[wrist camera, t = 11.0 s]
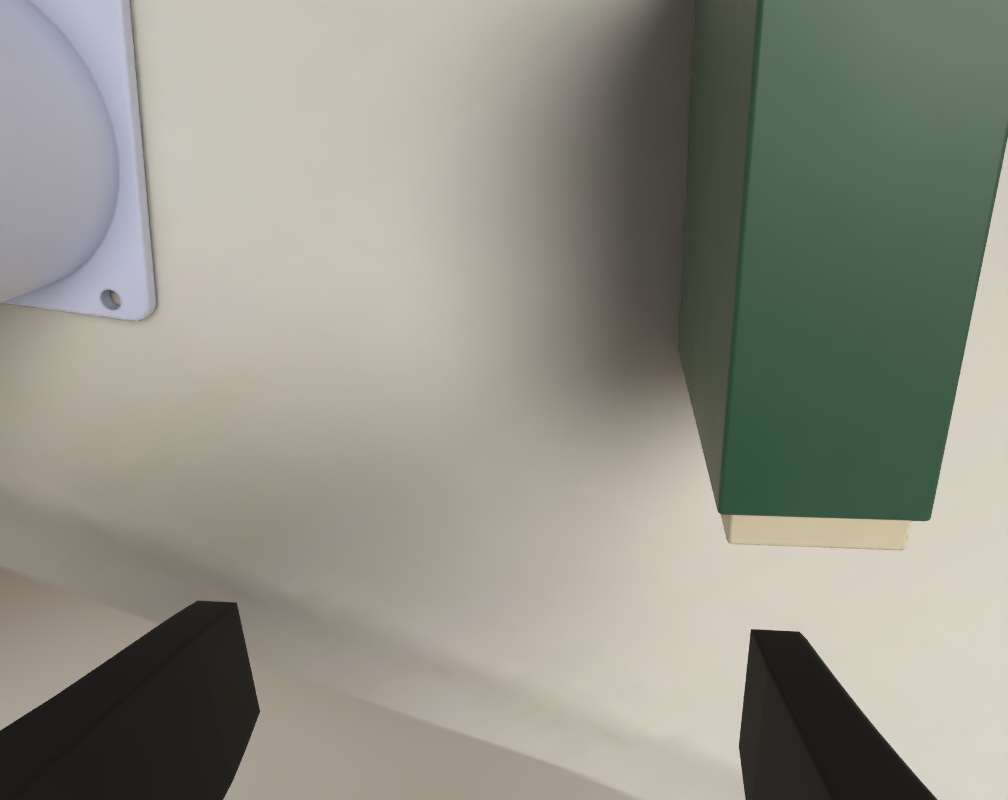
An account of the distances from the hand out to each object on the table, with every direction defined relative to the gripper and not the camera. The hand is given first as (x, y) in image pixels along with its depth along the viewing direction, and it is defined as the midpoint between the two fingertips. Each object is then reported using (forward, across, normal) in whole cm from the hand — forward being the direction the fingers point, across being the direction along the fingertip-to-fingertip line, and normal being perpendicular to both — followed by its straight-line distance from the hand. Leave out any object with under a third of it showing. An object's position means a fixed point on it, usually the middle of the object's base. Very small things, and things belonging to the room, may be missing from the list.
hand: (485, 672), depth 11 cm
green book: (+9, -5, -5) cm, 12 cm away
